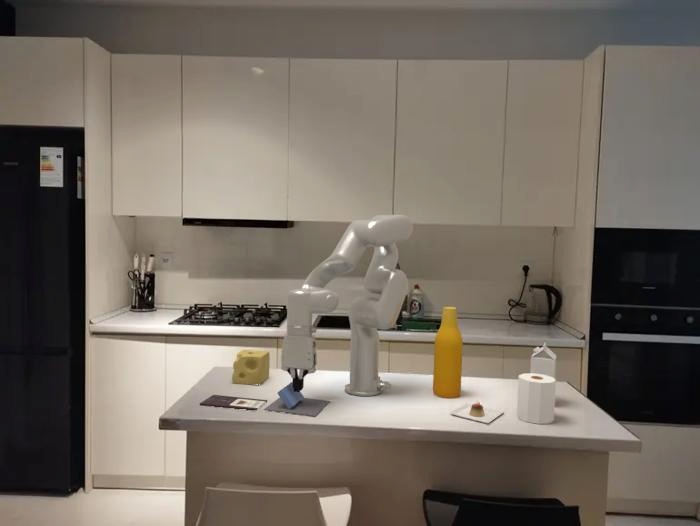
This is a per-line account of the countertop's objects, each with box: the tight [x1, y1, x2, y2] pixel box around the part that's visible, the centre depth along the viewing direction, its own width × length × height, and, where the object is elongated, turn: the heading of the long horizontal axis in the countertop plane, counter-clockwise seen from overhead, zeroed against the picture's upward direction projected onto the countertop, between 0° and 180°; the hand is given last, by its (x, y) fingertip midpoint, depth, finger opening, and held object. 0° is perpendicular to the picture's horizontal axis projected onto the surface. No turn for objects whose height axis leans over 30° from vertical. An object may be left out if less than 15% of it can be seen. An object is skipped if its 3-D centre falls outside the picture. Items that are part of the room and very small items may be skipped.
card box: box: [277, 381, 305, 409], centre depth 162 cm, size 9×2×6 cm
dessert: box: [449, 400, 505, 425], centre depth 158 cm, size 12×12×5 cm
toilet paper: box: [516, 372, 557, 425], centre depth 156 cm, size 10×10×12 cm
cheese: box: [231, 349, 271, 386], centre depth 187 cm, size 10×11×10 cm
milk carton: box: [529, 341, 557, 380], centre depth 171 cm, size 7×7×19 cm
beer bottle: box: [432, 306, 464, 399], centre depth 176 cm, size 9×9×29 cm
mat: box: [263, 397, 331, 418], centre depth 161 cm, size 16×14×1 cm
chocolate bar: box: [199, 394, 268, 411], centre depth 162 cm, size 9×1×18 cm
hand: (297, 390), depth 161 cm, fingers closed
